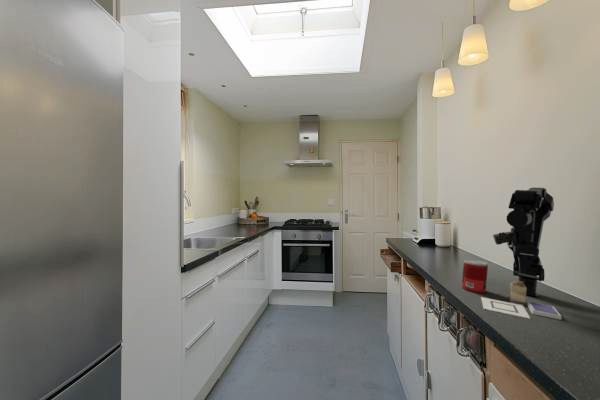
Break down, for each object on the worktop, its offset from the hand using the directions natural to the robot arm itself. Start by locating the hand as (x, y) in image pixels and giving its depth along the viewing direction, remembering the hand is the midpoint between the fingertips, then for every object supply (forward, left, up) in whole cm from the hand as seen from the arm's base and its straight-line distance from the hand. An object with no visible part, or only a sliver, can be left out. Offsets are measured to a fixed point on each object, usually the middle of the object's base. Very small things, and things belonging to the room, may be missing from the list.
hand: (519, 270), depth 102 cm
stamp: (0, 0, -11) cm, 11 cm away
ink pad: (+6, +6, -11) cm, 14 cm away
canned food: (-5, -13, -12) cm, 18 cm away
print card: (+10, -5, -11) cm, 16 cm away
